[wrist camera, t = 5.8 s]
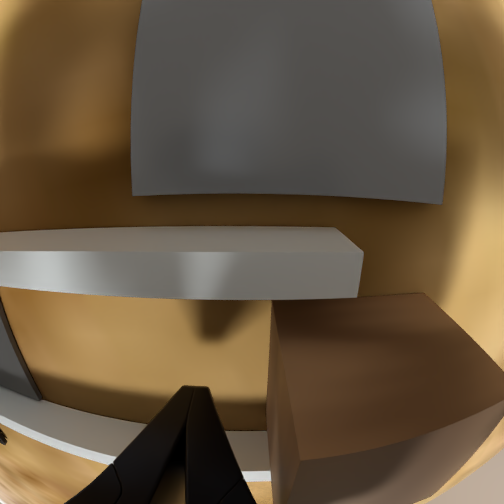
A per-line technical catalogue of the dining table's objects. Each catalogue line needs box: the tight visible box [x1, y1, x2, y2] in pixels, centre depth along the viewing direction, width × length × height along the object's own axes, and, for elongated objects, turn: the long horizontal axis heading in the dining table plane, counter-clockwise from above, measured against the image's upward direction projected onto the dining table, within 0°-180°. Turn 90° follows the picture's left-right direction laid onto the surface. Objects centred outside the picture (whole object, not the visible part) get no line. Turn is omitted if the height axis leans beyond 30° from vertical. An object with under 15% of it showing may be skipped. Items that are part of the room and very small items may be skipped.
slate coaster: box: [131, 0, 447, 205], centre depth 5 cm, size 8×8×1 cm
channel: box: [0, 226, 364, 482], centre depth 8 cm, size 17×9×2 cm, turn 89°
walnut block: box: [266, 293, 504, 504], centre depth 7 cm, size 5×5×5 cm
